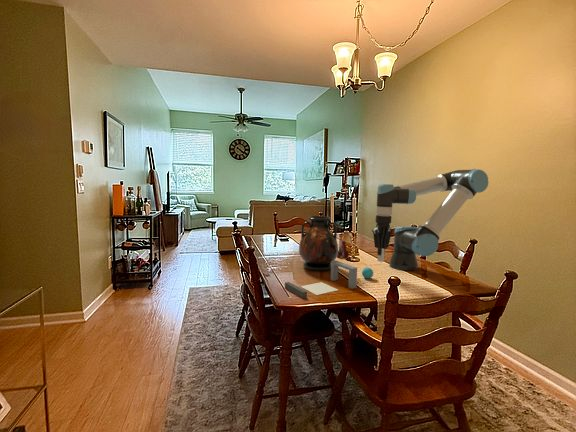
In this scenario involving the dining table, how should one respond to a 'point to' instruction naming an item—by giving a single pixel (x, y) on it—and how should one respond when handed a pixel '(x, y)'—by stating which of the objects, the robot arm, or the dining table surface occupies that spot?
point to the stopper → (296, 290)
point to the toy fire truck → (342, 249)
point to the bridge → (351, 269)
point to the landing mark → (319, 288)
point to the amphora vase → (318, 244)
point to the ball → (367, 272)
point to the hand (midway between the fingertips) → (380, 261)
